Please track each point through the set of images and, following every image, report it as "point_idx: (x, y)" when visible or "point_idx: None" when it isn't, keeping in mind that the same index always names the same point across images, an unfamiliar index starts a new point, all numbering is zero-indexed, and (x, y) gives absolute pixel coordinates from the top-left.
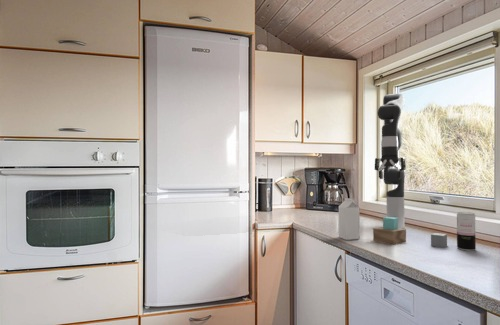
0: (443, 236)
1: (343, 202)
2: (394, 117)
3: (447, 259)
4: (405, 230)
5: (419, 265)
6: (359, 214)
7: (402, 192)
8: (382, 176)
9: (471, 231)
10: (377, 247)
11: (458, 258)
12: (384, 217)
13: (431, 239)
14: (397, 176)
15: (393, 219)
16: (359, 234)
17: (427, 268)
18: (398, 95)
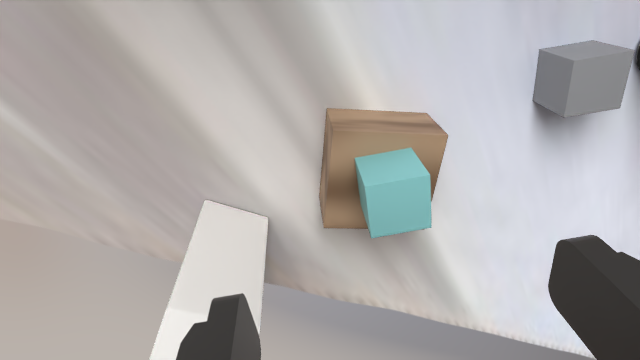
0: (616, 107)
1: None
2: None
3: (601, 237)
4: (445, 136)
5: (544, 324)
6: (262, 296)
7: None
8: (240, 339)
9: None
10: (388, 266)
11: (630, 205)
12: (370, 223)
13: (551, 109)
14: (587, 339)
15: (427, 226)
16: (267, 230)
17: (563, 330)
18: None
